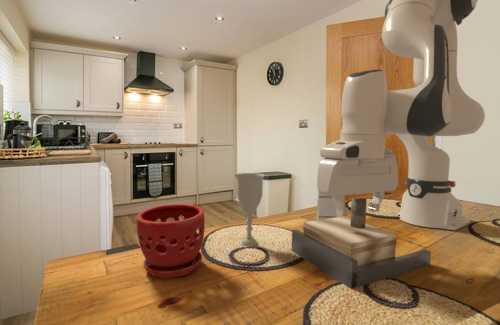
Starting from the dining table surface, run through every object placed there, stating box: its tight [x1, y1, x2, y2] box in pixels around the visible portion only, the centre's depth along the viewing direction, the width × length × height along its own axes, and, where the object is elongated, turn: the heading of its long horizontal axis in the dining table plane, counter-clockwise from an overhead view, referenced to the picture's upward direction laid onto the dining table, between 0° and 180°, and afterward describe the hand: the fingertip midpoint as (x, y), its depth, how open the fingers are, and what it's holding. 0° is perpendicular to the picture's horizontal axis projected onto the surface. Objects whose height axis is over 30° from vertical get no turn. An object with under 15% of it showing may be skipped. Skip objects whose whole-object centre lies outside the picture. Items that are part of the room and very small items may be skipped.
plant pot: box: [136, 203, 205, 279], centre depth 58 cm, size 13×13×12 cm
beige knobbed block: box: [302, 196, 397, 267], centre depth 60 cm, size 12×14×13 cm
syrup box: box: [316, 189, 339, 220], centre depth 82 cm, size 6×6×14 cm
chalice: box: [234, 172, 266, 248], centre depth 68 cm, size 7×7×18 cm
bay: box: [291, 229, 432, 290], centre depth 61 cm, size 22×18×6 cm
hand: (358, 213), depth 61 cm, fingers open, 8 cm apart
